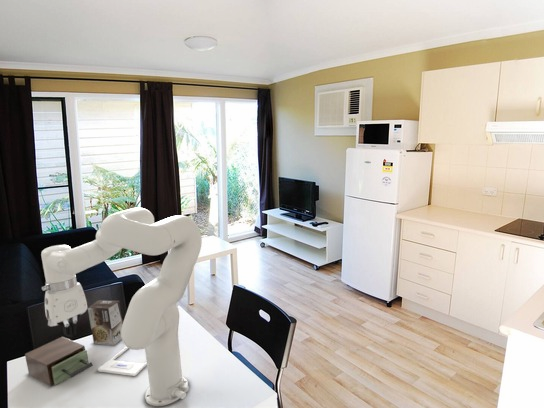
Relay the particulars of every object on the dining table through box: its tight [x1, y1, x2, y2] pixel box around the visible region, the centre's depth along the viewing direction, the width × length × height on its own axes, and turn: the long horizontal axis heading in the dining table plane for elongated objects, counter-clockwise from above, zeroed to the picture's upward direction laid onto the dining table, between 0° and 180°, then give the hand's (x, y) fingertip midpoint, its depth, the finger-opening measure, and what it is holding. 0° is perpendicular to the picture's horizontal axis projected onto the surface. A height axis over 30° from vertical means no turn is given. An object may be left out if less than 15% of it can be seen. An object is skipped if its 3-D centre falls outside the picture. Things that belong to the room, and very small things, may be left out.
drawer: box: [50, 349, 94, 386], centre depth 121 cm, size 19×10×6 cm, turn 65°
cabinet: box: [24, 336, 86, 387], centre depth 123 cm, size 14×12×8 cm
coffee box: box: [87, 299, 123, 346], centre depth 140 cm, size 9×6×16 cm
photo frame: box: [97, 345, 147, 377], centre depth 130 cm, size 15×1×18 cm
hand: (70, 335), depth 115 cm, fingers closed
